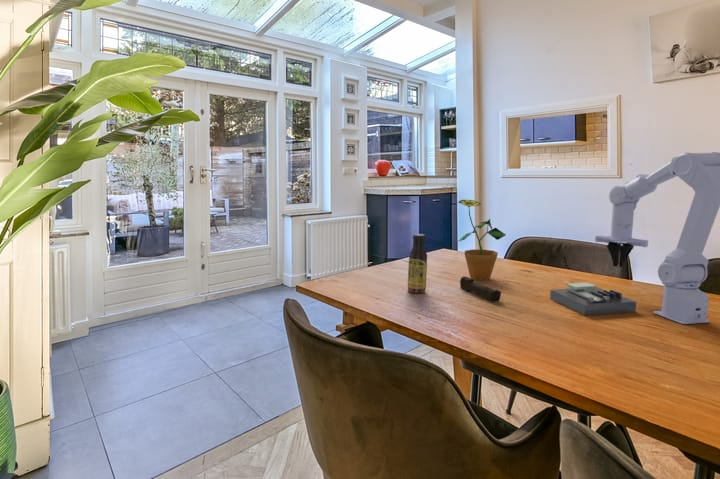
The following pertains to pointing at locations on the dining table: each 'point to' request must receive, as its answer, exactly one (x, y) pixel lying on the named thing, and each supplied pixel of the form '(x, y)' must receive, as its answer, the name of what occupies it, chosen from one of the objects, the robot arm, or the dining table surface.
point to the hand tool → (479, 289)
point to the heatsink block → (589, 307)
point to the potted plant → (480, 259)
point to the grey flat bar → (585, 294)
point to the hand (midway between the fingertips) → (618, 266)
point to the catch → (583, 287)
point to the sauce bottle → (417, 265)
